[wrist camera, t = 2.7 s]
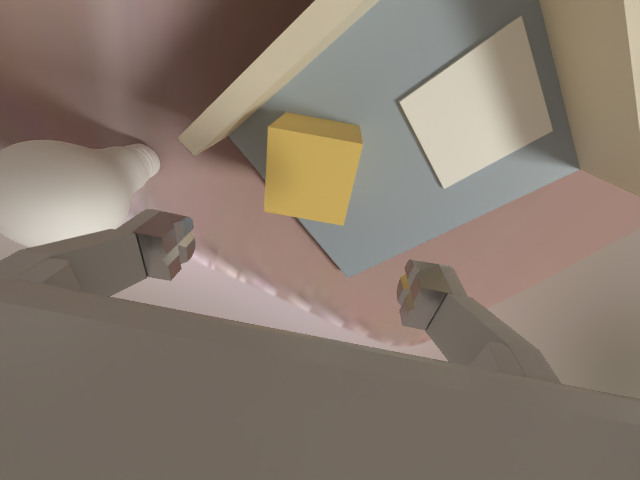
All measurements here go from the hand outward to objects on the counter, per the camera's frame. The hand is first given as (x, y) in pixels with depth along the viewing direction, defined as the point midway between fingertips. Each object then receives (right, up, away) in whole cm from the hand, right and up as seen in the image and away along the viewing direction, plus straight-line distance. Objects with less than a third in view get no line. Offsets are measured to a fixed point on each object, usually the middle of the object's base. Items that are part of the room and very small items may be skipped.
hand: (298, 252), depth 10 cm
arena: (+7, +8, +9) cm, 14 cm away
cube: (+1, +7, +9) cm, 11 cm away
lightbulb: (-13, +7, +12) cm, 19 cm away
